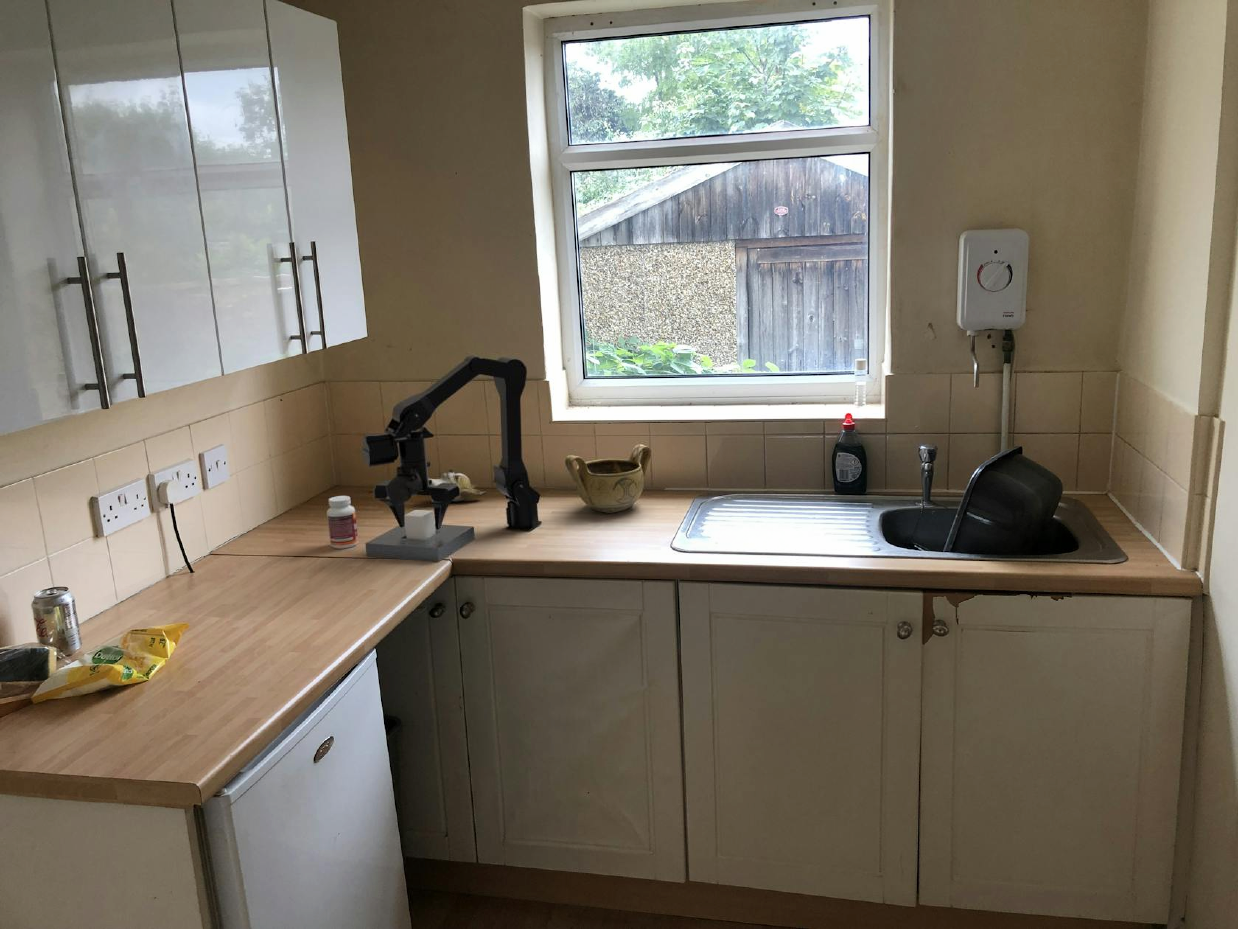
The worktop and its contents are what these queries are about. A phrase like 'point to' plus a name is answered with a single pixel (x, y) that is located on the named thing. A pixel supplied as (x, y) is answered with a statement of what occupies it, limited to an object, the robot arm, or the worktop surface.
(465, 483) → the ceramic sculpture
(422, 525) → the white rectangular block
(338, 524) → the pill bottle
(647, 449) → the ceramic bowl
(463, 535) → the jig plate
